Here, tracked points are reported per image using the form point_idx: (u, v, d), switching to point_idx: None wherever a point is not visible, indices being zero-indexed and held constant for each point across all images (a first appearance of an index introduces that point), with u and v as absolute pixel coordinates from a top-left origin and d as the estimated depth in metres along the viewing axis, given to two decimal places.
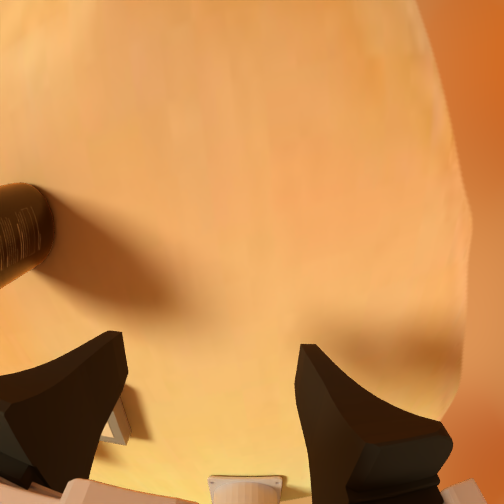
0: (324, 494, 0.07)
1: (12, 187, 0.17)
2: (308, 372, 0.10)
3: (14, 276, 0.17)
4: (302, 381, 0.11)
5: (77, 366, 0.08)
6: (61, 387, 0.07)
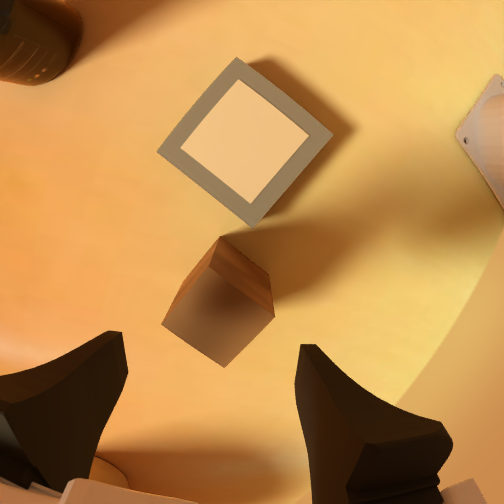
0: (324, 494, 0.07)
1: None
2: (308, 372, 0.10)
3: (50, 11, 0.12)
4: (302, 381, 0.11)
5: (77, 366, 0.08)
6: (61, 387, 0.07)
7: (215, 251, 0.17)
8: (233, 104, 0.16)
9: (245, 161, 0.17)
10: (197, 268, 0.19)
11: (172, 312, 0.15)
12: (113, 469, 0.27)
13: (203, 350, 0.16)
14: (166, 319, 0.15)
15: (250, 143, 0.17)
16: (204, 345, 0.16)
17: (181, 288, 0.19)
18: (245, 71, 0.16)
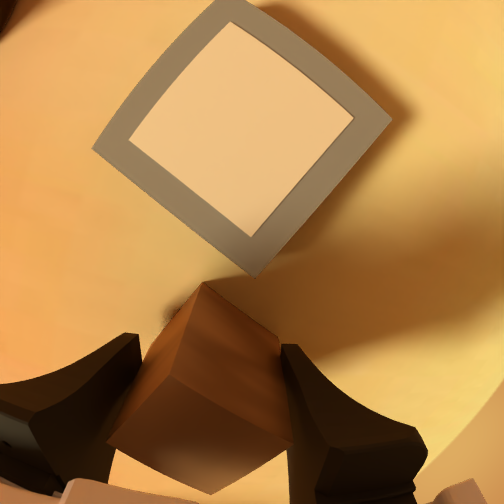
0: (298, 496, 0.07)
1: None
2: (287, 372, 0.10)
3: None
4: None
5: (97, 370, 0.08)
6: (82, 392, 0.07)
7: (189, 323, 0.10)
8: (220, 61, 0.09)
9: (241, 161, 0.09)
10: (164, 339, 0.11)
11: (119, 430, 0.08)
12: None
13: (176, 477, 0.08)
14: (111, 437, 0.08)
15: (250, 129, 0.09)
16: (176, 472, 0.08)
17: (143, 366, 0.11)
18: (242, 10, 0.08)
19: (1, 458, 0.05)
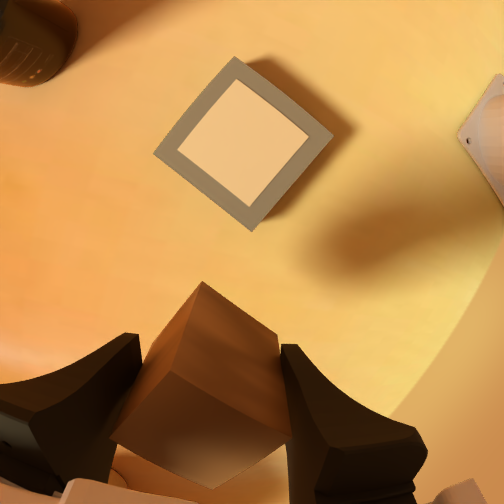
0: (298, 496, 0.07)
1: None
2: (287, 372, 0.10)
3: (45, 11, 0.11)
4: None
5: (97, 370, 0.08)
6: (82, 392, 0.07)
7: (189, 321, 0.10)
8: (231, 104, 0.16)
9: (243, 163, 0.17)
10: (166, 337, 0.11)
11: (122, 426, 0.08)
12: (112, 473, 0.26)
13: (178, 472, 0.09)
14: (115, 433, 0.08)
15: (248, 144, 0.16)
16: (178, 467, 0.08)
17: (145, 364, 0.12)
18: (243, 71, 0.15)
19: (1, 458, 0.05)
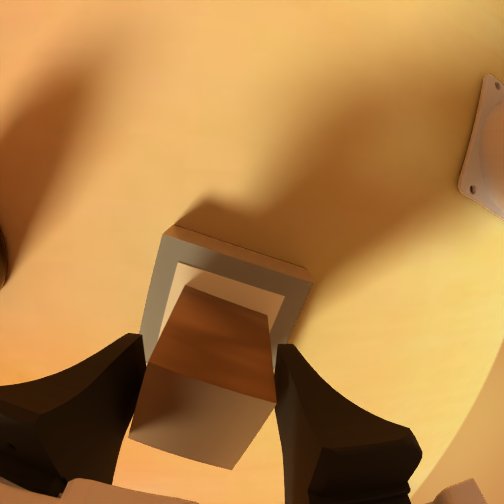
0: (293, 496, 0.07)
1: None
2: (282, 372, 0.10)
3: None
4: (278, 381, 0.11)
5: (102, 371, 0.08)
6: (87, 393, 0.07)
7: (169, 320, 0.11)
8: None
9: None
10: None
11: (133, 423, 0.09)
12: None
13: (195, 457, 0.10)
14: (131, 431, 0.09)
15: None
16: (193, 452, 0.10)
17: None
18: (181, 249, 0.14)
19: (5, 460, 0.05)
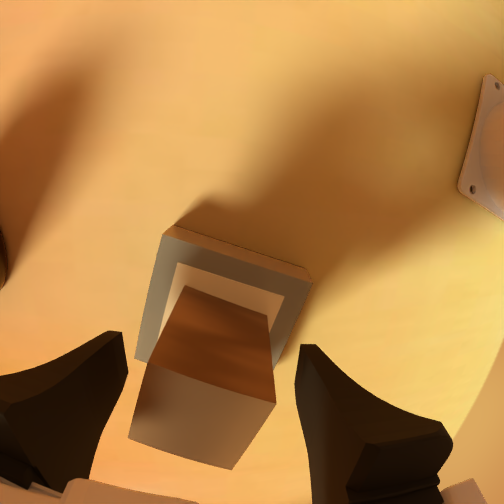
0: (324, 494, 0.07)
1: None
2: (308, 372, 0.10)
3: None
4: (302, 381, 0.11)
5: (77, 366, 0.08)
6: (61, 387, 0.07)
7: (169, 320, 0.11)
8: None
9: None
10: None
11: (133, 423, 0.09)
12: None
13: (194, 457, 0.10)
14: (130, 432, 0.09)
15: None
16: (192, 452, 0.10)
17: None
18: (181, 249, 0.14)
19: None
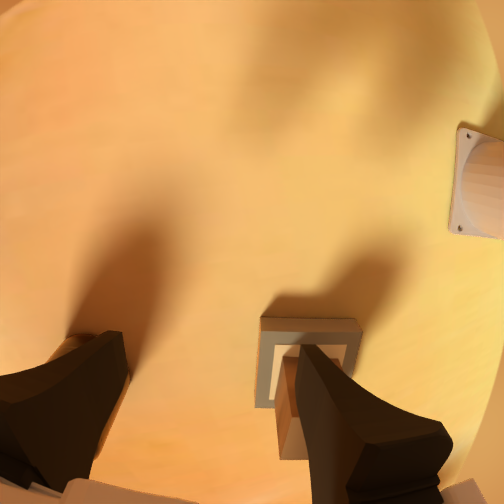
0: (324, 494, 0.07)
1: None
2: (308, 372, 0.10)
3: None
4: (302, 381, 0.11)
5: (77, 366, 0.08)
6: (61, 387, 0.07)
7: (288, 387, 0.18)
8: None
9: None
10: (280, 396, 0.20)
11: (283, 450, 0.16)
12: None
13: None
14: (281, 455, 0.16)
15: None
16: None
17: (277, 413, 0.20)
18: (275, 336, 0.21)
19: None
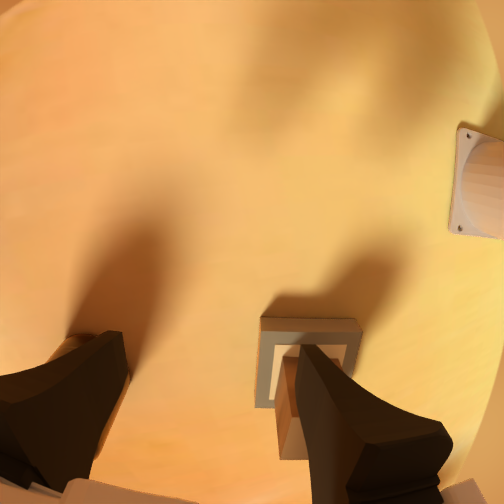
0: (324, 494, 0.07)
1: None
2: (308, 372, 0.10)
3: None
4: (302, 381, 0.11)
5: (77, 366, 0.08)
6: (61, 387, 0.07)
7: (288, 387, 0.18)
8: None
9: None
10: (280, 396, 0.20)
11: (283, 450, 0.16)
12: None
13: None
14: (281, 455, 0.16)
15: None
16: None
17: (277, 413, 0.20)
18: (275, 336, 0.21)
19: None
